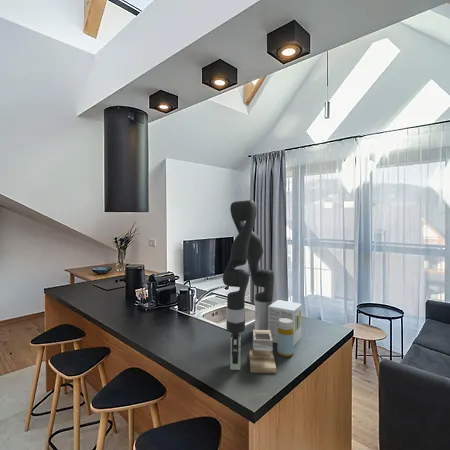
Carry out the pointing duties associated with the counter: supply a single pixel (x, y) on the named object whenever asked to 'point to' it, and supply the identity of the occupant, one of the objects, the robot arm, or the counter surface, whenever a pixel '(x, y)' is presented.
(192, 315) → the counter surface
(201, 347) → the counter surface
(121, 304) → the counter surface
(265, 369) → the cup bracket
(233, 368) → the rail post
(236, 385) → the counter surface
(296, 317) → the supplement box
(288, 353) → the bottle
